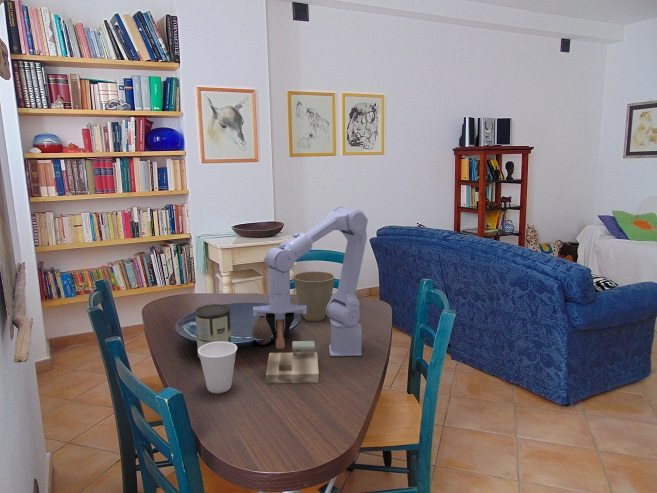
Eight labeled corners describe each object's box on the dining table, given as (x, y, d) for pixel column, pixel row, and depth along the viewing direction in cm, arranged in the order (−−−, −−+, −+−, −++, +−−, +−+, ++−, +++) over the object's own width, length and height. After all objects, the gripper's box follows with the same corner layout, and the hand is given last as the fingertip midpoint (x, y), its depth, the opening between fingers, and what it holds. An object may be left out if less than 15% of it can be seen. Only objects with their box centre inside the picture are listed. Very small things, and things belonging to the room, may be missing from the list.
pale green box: (314, 360, 145) (314, 341, 144) (314, 366, 141) (314, 346, 140) (292, 360, 145) (292, 341, 144) (292, 366, 141) (292, 346, 140)
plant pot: (342, 315, 183) (342, 274, 179) (320, 328, 170) (320, 283, 167) (309, 308, 190) (308, 268, 187) (285, 320, 178) (285, 277, 175)
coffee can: (211, 344, 156) (209, 302, 153) (238, 350, 152) (237, 306, 149) (189, 356, 147) (187, 312, 144) (217, 363, 143) (215, 317, 140)
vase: (269, 347, 154) (269, 321, 152) (249, 345, 155) (248, 319, 153) (276, 339, 161) (276, 313, 159) (256, 337, 162) (255, 312, 160)
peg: (284, 345, 139) (283, 318, 137) (285, 348, 136) (284, 320, 135) (275, 345, 138) (275, 318, 137) (276, 349, 136) (276, 321, 134)
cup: (219, 401, 121) (217, 360, 119) (191, 391, 127) (189, 351, 124) (246, 385, 130) (245, 346, 127) (219, 376, 135) (217, 338, 133)
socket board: (317, 360, 145) (317, 352, 145) (318, 382, 131) (318, 373, 131) (269, 360, 144) (269, 352, 144) (266, 383, 131) (265, 374, 130)
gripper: (305, 286, 139) (305, 332, 141) (253, 288, 137) (254, 334, 140) (307, 294, 132) (307, 341, 134) (252, 295, 130) (253, 344, 133)
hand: (280, 338), depth 137 cm, fingers closed on peg, 2 cm apart
